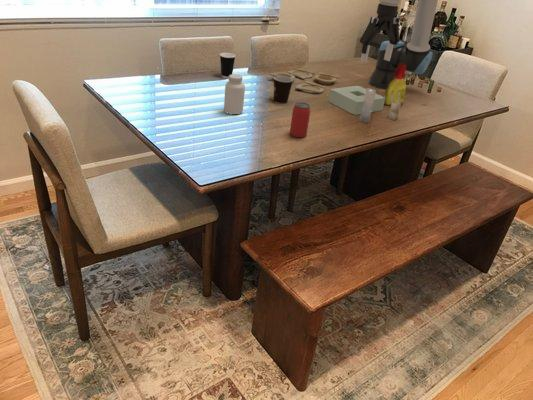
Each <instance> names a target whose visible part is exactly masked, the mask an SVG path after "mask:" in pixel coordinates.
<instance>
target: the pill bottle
mask: <svg viewBox="0 0 533 400" xmlns="http://www.w3.org/2000/svg"><path fill="white" fill-rule="evenodd" d="M245 89H246V87H245V84H244V82H243V75H241V74H235V73H232V75H229V78H228V80H227V82H226V83H225V86H224V101H223V102H224V103H223V111H224V112H225V111H226V112H228V113H231V114H230V115H232V114H239V115H241V114H243V110H244V102H245ZM226 112H225V113H226ZM228 113H227V114H228ZM240 113H241V114H240Z"/></svg>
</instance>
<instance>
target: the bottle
mask: <svg viewBox="0 0 533 400" xmlns="http://www.w3.org/2000/svg"><path fill="white" fill-rule="evenodd" d="M405 70H406V64H405V63H399V64H398V66H397V68H396V71H395V74H394V77H393V80H392V81H391V82H390V83H389V84H388V86H387V88H386V89H385V93H384V97H385V102H384V105H387V106H391V104H392V102H399V103H401V104H402V103H403V102H404V98H405V95H406V90H407V85H406V81H405V75H406V74H405V73H406V71H405Z"/></svg>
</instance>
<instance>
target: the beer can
mask: <svg viewBox="0 0 533 400" xmlns="http://www.w3.org/2000/svg"><path fill="white" fill-rule="evenodd" d="M310 115H311V107H310V104H309V103H306V102H300V101H299V102H296V103H294V106H293V109H292V113H291V119H290V120H291V121H290V129H289V134H290V135H291V136H293V137H294V138H295V137H296V138H304V137H306V136H307V135H308V129H309V128H308V127H309V122H310Z"/></svg>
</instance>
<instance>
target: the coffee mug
mask: <svg viewBox="0 0 533 400" xmlns="http://www.w3.org/2000/svg"><path fill="white" fill-rule="evenodd" d="M293 81H294V79H291V78H289V77H285V76H276V77H274V76H273V101H274V102H275V103H279V104H286V103H288V101H289V97H290V93H291V90H292V85H293Z"/></svg>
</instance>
